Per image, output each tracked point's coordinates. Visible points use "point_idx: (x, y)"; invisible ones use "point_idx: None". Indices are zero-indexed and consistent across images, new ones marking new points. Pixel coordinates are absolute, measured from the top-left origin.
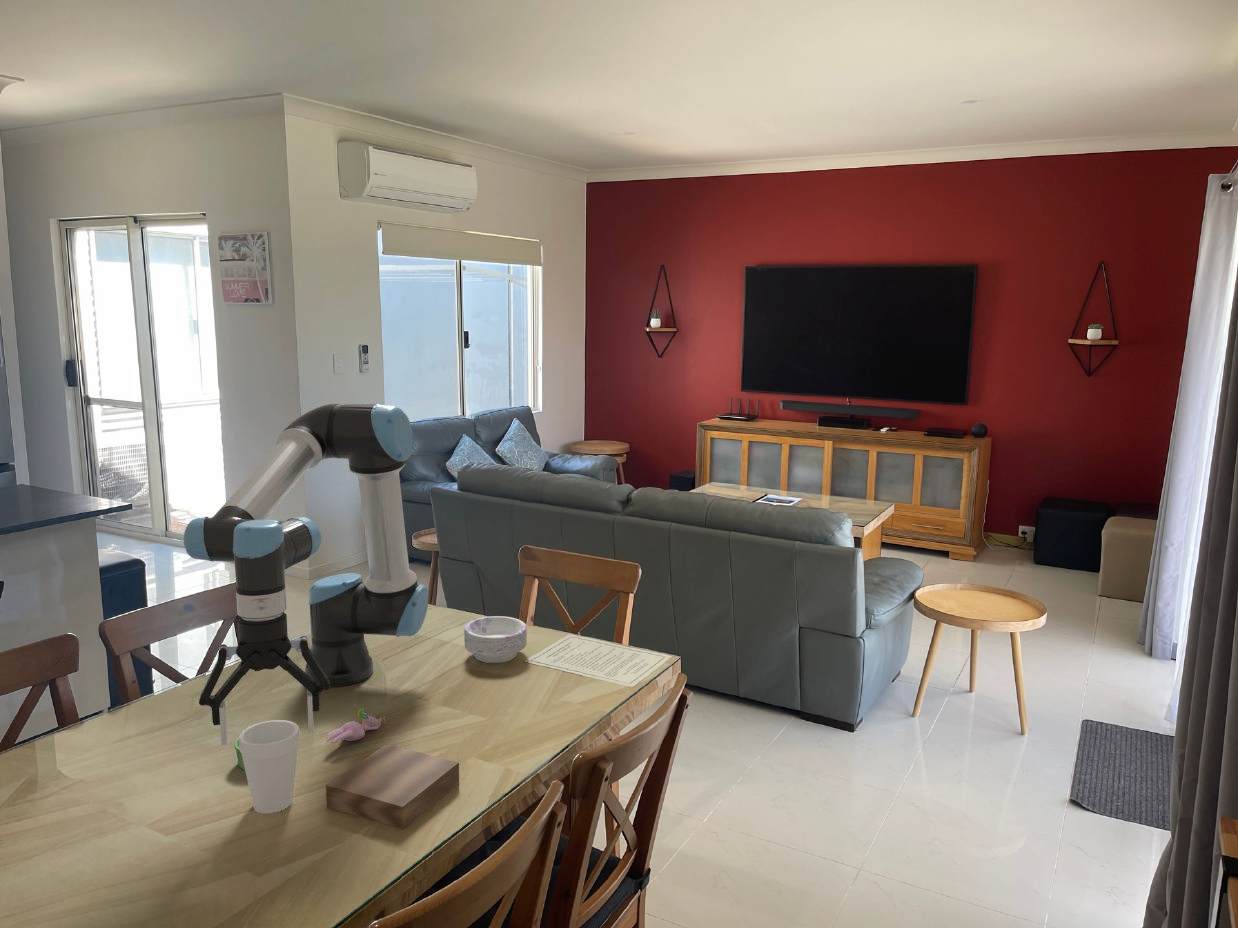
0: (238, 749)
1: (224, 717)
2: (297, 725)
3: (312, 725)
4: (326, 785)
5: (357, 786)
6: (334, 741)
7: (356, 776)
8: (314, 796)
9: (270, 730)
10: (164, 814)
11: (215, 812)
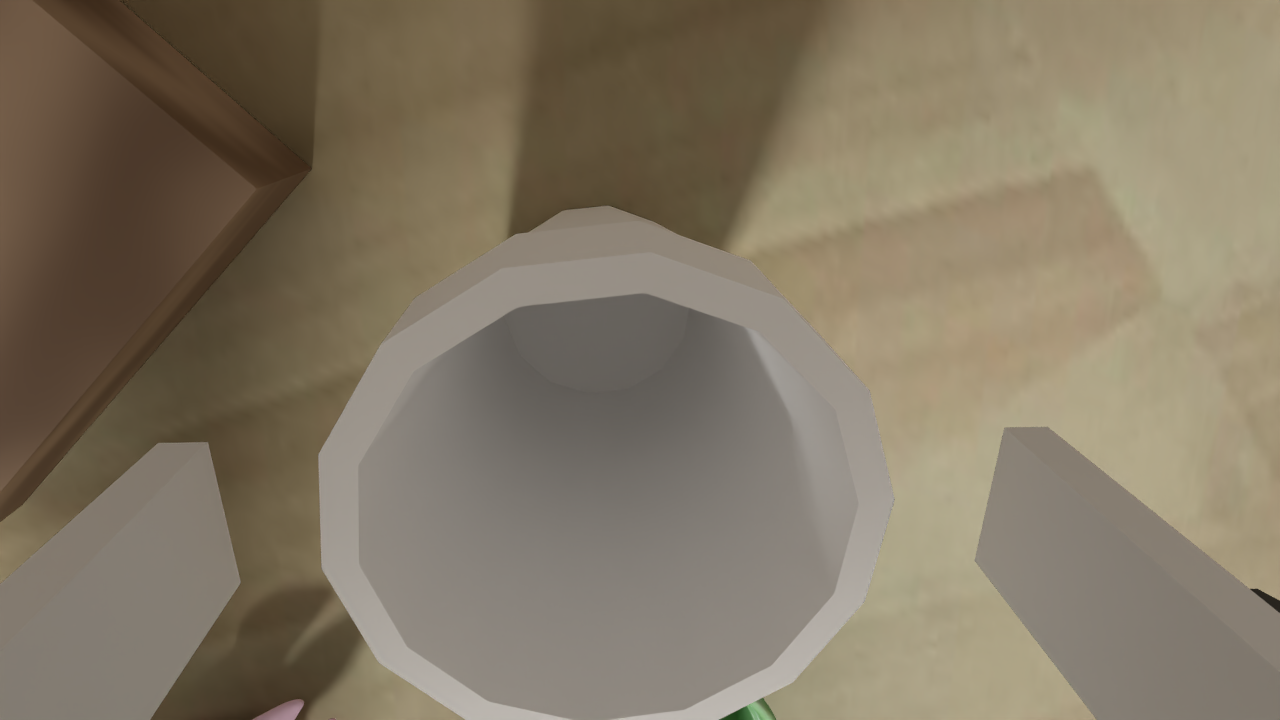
0: (769, 712)
1: (1236, 633)
2: (341, 597)
3: (121, 486)
4: (252, 184)
5: (18, 88)
6: (291, 706)
7: (53, 234)
8: (390, 300)
9: (605, 653)
10: (1074, 365)
11: (866, 307)
